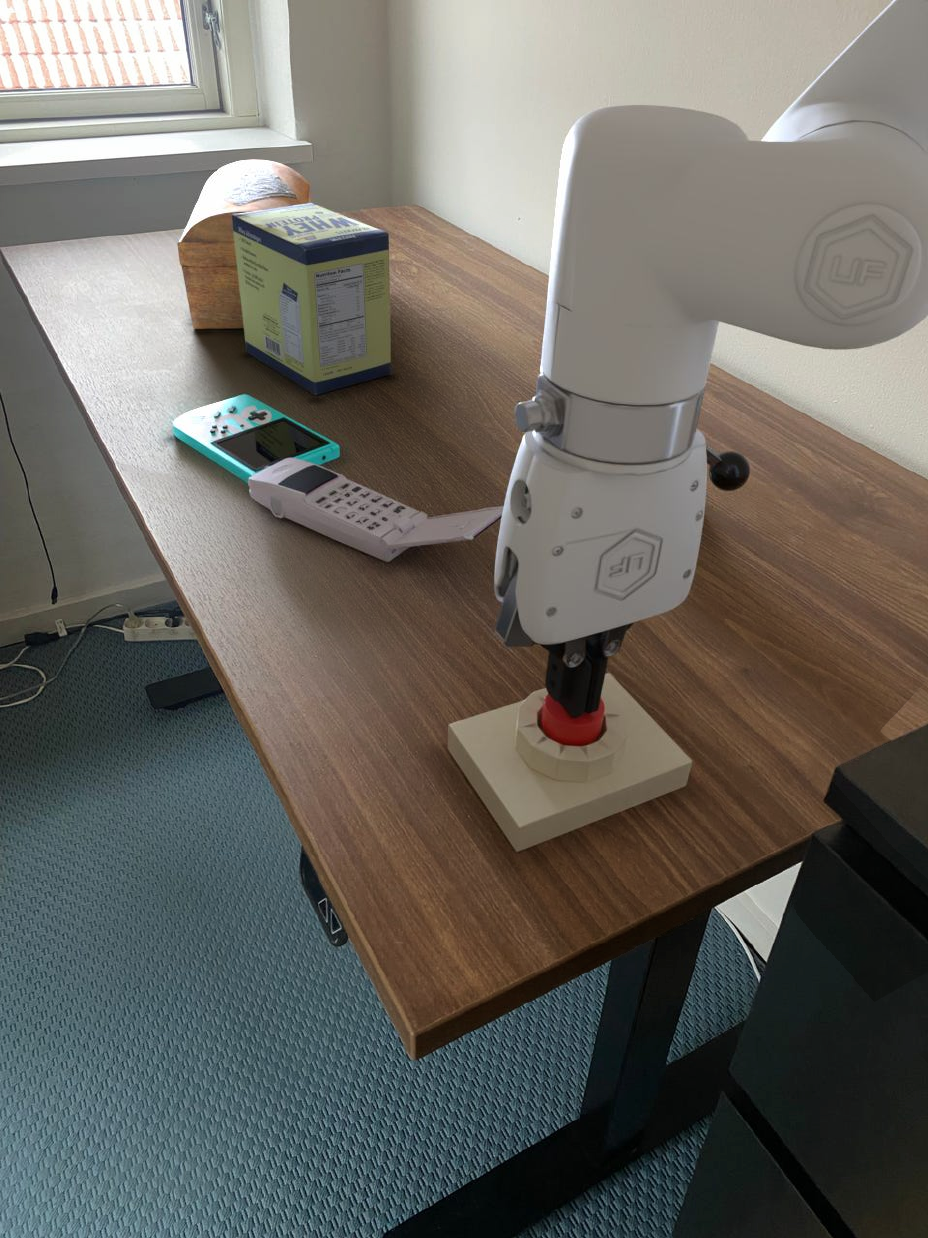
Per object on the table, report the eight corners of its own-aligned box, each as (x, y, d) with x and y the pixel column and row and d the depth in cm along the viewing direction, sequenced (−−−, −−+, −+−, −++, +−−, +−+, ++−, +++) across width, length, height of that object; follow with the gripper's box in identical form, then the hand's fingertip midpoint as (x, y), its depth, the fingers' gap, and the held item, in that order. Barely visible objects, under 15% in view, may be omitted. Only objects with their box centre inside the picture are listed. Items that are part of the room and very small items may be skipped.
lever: (725, 486, 82) (754, 459, 81) (731, 505, 80) (761, 478, 78) (607, 393, 78) (634, 362, 76) (609, 410, 75) (637, 378, 74)
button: (580, 698, 57) (583, 677, 56) (612, 736, 55) (616, 714, 54) (530, 715, 56) (532, 694, 55) (561, 754, 54) (564, 732, 53)
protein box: (318, 334, 115) (310, 200, 105) (393, 375, 105) (392, 232, 96) (243, 352, 109) (228, 212, 100) (315, 397, 100) (306, 247, 90)
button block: (605, 696, 63) (613, 651, 61) (686, 786, 57) (698, 740, 54) (447, 749, 59) (448, 702, 56) (516, 853, 52) (521, 805, 50)
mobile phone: (468, 539, 68) (221, 436, 78) (463, 604, 71) (227, 497, 81) (511, 507, 72) (271, 413, 82) (503, 570, 75) (275, 472, 85)
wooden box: (320, 330, 116) (313, 212, 107) (185, 330, 114) (167, 210, 106) (324, 258, 139) (319, 157, 131) (212, 257, 138) (200, 155, 129)
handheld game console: (248, 402, 98) (247, 390, 98) (344, 456, 90) (343, 443, 89) (164, 430, 93) (162, 417, 92) (257, 490, 84) (256, 476, 83)
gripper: (516, 475, 38) (489, 783, 49) (793, 417, 43) (712, 705, 55) (437, 402, 43) (429, 695, 54) (694, 359, 49) (638, 632, 60)
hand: (571, 699), depth 54 cm, fingers closed
